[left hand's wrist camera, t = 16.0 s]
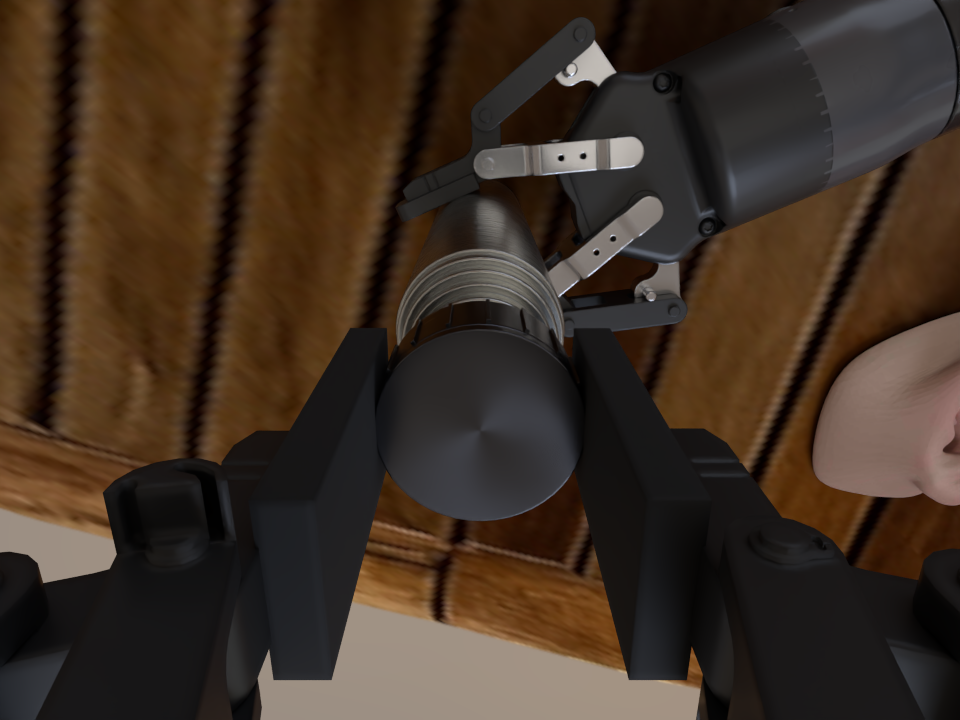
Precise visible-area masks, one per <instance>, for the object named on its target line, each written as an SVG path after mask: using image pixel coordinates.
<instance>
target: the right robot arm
mask: <svg viewBox="0 0 960 720" xmlns="http://www.w3.org/2000/svg"><path fill="white" fill-rule="evenodd" d="M594 39H595V28H594V25H593V24H592V22H591V21H590V20H588V19H586V18H583V17H579V18H575V19H573V20H572V21H571V22H569V23H568V24H567V25H566V26H565V27H564V28H563V29H561V30H560V31H559V32H558V33H557V34H556V35H554V36H553V37H552V38H551V39H550V40H549V41H548V42H546V43H545V44H544V45H543V46H542V47H541V48H539V49H538V50H537V51H536V52H535V53H534V54H533V55H531V56H530V57H529V58H528V59H527V60H526V61H525V62H523V63H522V64H521V65H520V66H519V67H518V68H516V69H515V70H514V71H513V72H512V73H511V74H510V75H508V76H507V77H506V78H505V79H504V80H503V81H501V82H500V83H499V84H498V85H497V86H496V87H495V88H493V89H492V90H491V91H490V92H489V93H488V94H487V95H485V96H484V97H483V98H482V99H481V100H480V101H478V102H477V103H476V104H475V105H474V107H473V108H472V111H471V127H472V146H471V149H470V150H469V152H468V153H467V154H466V155H465V156H463V157H461V158H459V159H457V160H454V161H452V162H450V163H448V164H445V165H443V166H441V167H439V168H437V169H435V170H432V171H430V172H428V173H426V174H423V175H421V176H419V177H417V178H414V179H413V180H412V181H411V183H410V184H409V185H408V186H407V187H406V188H405V189H404V190H403V193H404V195H405V197H406V200H404V201H402V202H400V203H399V204H398V205H397V206H396V210H397V212H398V214H399V216H400V218H401V220H402V222H404V221H407V220H410V219H412V218H414V217H417V216H419V215H421V214H423V213H426V212H428V211H430V210H432V209H435V208H437V207H439V206H441V205H444V204H446V203H448V202H451V201H453V200H455V199H457V198H459V197H461V196H464V195H466V194H469V193H471V192H473V191H475V190H478V189H480V183H481V182H483V181H485V180H487V179H496V178H506V177H517V176H540V175H551V174H555V175H556V178H557V180H558V183H559V185H560V187H561V188H562V189H563V191H564V192H565V193H566V195H567V196H568V198H569V199H570V207H571V217H572V220H573V222H574V225H575V228H576V230H575V231H574V232H573V233H572V234H571V235H569V236H568V237H567V238H566V239H565V240H564V241H562V242H561V243H560V245H559V246H558V248H557V249H556V250H555V251H554V252H553V253H552V254H551V255H549V256H548V257H547V258H546V259H545V260H544V261H543V262H544V264H545V267H546V269H547V271H548V274H549V276H550V279H551V281H552V283H553V286H554V288H555V291H556V293H557V296H558V298H559V300H560V303H561V307H562V310H563V315H564V321H565V334H564V337H573V333H574V328H610V329H611V331H612V332H613V331H620V330H628V329H636V328H644V327H652V326H660V325H667V324H675V323H678V322H680V321H682V320H683V319H684V318H685V316H686V314H687V305H686V303H685V302H684V301H683V300H682V299H681V297H680V286H679V261H681V260H682V259H684V258H685V257H686V256H687V255H688V254H689V252H690V251H691V250H692V249H693V248H694V247H695V246H696V245H697V244H699V243H700V242H701V241H703V240H704V239H706V238H709V237H711V236H714V235H717V234H719V233H722V232H724V231H727V230H729V229H732V228H734V227H737V226H739V225H741V224H744V223H746V222H749V221H751V220H754V219H756V218H758V217H761V216H763V215H766V214H768V213H770V212H773V211H775V210H778V209H780V208H783V207H785V206H787V205H790V204H793V203H795V202H797V201H800V200H802V199H805V198H807V197H810V196H812V195H815V194H817V193H819V192H822V191H824V190H827V189H829V188H832V187H834V186H836V185H839V184H841V183H844V182H846V181H849V180H851V179H853V178H856V177H858V176H861V175H863V174H865V173H868V172H870V171H872V170H875V169H877V168H879V167H881V166H883V165H885V164H887V163H889V162H891V161H892V160H894V159H896V158H898V157H899V156H901V155H903V154H905V153H906V152H908V151H910V150H912V149H914V148H915V147H917V146H919V145H921V144H923V143H926V142H928V141H930V140H932V139H935V138H937V137H940V136H942V135H945V134H947V133H950V132H952V131H954V130H957V129H959V128H960V0H804V1H802V2H800V3H798V4H795V5H793V6H788V7H784V8H781V9H778V10H776V11H774V12H773V13H771V14H770V15H768V16H767V17H766V18H764V19H762V20H760V21H758V22H756V23H753V24H751V25H749V26H747V27H745V28H742V29H740V30H738V31H736V32H734V33H731V34H729V35H727V36H725V37H722V38H720V39H718V40H716V41H714V42H711V43H709V44H707V45H705V46H703V47H700V48H698V49H696V50H694V51H691V52H689V53H687V54H685V55H683V56H680V57H678V58H676V59H674V60H672V61H669V62H667V63H665V64H663V65H660V66H658V67H656V68H654V69H651V70H649V71H646V72H640V73H636V72H628V71H621V72H617V73H616V71H615V70H614V68H613V67H612V65H611V64H610V62H609V61H608V59H607V58H606V56H605V55H604V53H603V52H602V51H601V49H600V48H599V46H598V45H597V43H596V42H595V40H594ZM552 79H554V80H555V82H556V83H557V84H558V85H560V86H563V87H569V86H573V85H575V84H577V83H578V82H580V81H586V82H589V83H591V84H592V85H593V86H594V89H593V91H592V93H591V94H590V96H589V98H588V99H587V101H586V103H585V104H584V106H583V108H582V109H581V111H580V113H579V114H578V116H577V117H576V119H575V121H574V122H573V124H572V126H571V127H570V129H569V131H568V132H567V134H566V136H565V137H564V138H562V139H551V140H541V141H531V142H525V143H515V144H505V145H501V130H500V123H501V122H502V121H503V120H505V119H506V118H507V117H508V116H509V115H510V114H512V113H513V112H514V111H515V110H516V109H517V108H519V107H520V106H521V105H522V104H523V103H525V102H526V101H527V100H528V99H529V98H530V97H532V96H533V95H534V94H535V93H536V92H537V91H539V90H540V89H541V88H542V87H543V86H544V85H546V84H547V83H548V82H549V81H550V80H552ZM584 240H585V241H584ZM595 250H598V251H597V253H594V251H595ZM614 255H621V256H625V257H630V258H634V259H639V260H643V261H647V262H652V263H653V267H652V268H651V270H650V271H649V272H648V273H646V274H644V275H641V276H638V277H636V278H635V279H634V280H633V281H632V283H631V287H630V289H625V290H618V291H610V292H602V293H595V294H587V295H579V296H572V297H567V296H566V295H565V294H564V293H565V292H566V291H567V290H568V289H570V288H571V287H572V286H573V285H574V284H576V283H577V282H578V281H580V280H584V279H586V278H587V277H589V276H590V275H591V274H593V273H594V272H595V271H596V270H598V269H599V268H600V267H601V266H602V265H604V264H605V263H606V262H607V261H608V260H610V259H611V258H612V257H613V256H614Z"/></svg>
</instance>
